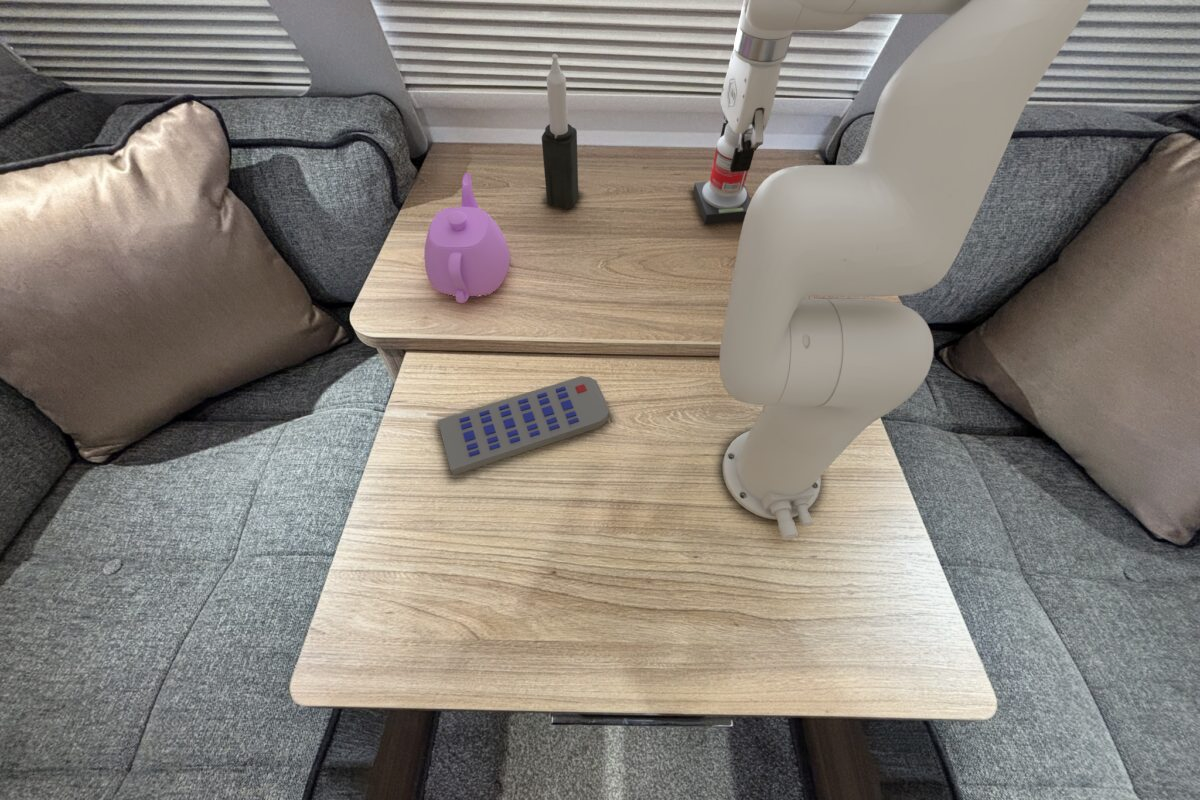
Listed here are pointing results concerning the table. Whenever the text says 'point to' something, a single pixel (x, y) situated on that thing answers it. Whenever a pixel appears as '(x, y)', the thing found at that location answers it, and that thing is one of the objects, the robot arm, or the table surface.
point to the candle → (559, 144)
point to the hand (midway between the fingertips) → (733, 156)
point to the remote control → (522, 423)
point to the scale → (720, 205)
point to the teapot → (465, 249)
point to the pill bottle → (727, 165)
